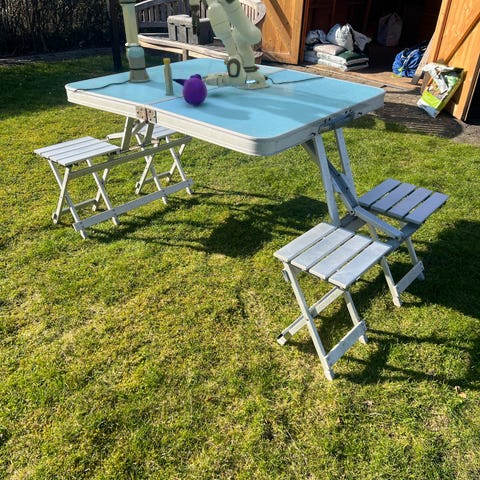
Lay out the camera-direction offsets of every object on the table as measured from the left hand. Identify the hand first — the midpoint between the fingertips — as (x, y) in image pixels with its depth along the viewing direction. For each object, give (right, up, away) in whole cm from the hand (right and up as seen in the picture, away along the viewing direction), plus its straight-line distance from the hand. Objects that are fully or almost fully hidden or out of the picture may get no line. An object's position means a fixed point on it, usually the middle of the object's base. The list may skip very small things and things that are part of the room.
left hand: (196, 35), depth 349 cm
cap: (-13, -43, -61) cm, 76 cm away
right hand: (+8, -54, -57) cm, 79 cm away
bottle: (-13, -62, -50) cm, 81 cm away
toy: (+4, -75, -72) cm, 104 cm away
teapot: (+30, -20, +21) cm, 42 cm away
